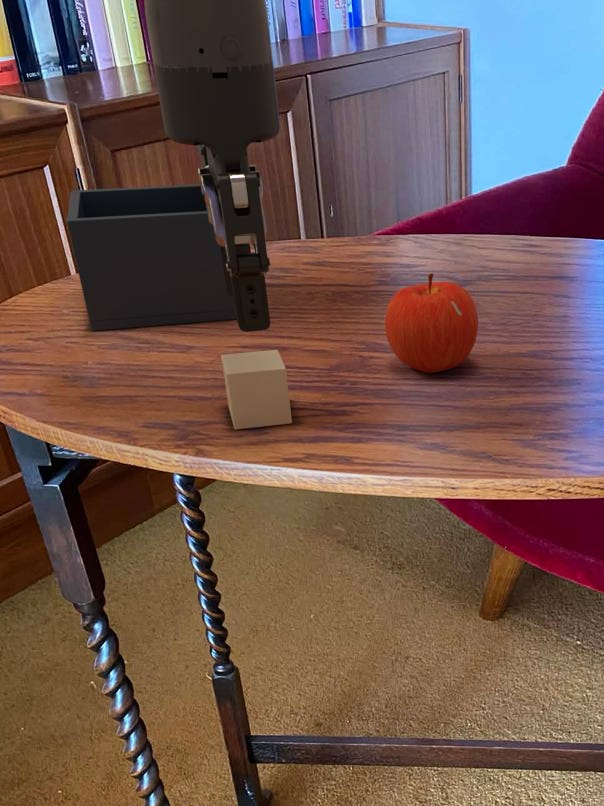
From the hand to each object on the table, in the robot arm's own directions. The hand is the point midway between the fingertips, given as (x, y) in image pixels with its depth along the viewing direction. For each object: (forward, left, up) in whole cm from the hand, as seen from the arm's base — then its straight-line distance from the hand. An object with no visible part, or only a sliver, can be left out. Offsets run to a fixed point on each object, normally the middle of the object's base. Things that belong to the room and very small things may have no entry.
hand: (248, 311), depth 71 cm
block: (0, 0, -8) cm, 8 cm away
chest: (-6, +32, -8) cm, 34 cm away
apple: (+16, +7, -8) cm, 19 cm away
